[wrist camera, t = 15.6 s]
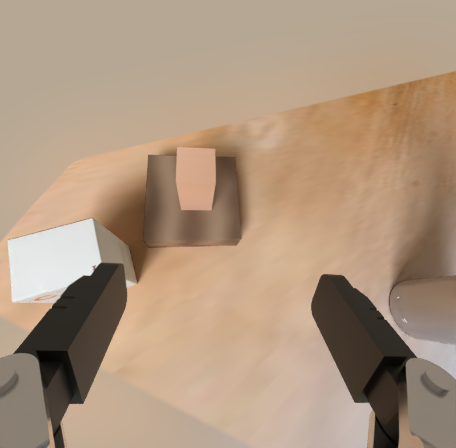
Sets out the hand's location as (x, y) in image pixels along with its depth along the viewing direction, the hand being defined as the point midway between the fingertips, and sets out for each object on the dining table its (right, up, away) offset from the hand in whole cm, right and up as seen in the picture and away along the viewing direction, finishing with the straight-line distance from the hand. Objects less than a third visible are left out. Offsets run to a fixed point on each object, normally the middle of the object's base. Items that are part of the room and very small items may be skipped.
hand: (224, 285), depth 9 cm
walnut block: (-6, +5, +31) cm, 32 cm away
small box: (-18, -5, +25) cm, 31 cm away
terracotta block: (-5, +7, +26) cm, 27 cm away
